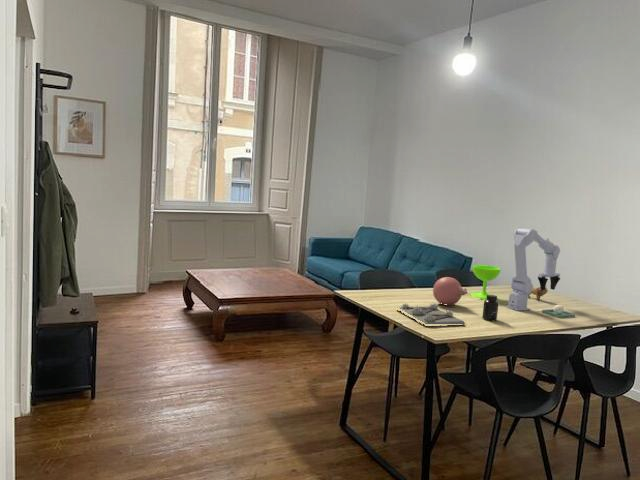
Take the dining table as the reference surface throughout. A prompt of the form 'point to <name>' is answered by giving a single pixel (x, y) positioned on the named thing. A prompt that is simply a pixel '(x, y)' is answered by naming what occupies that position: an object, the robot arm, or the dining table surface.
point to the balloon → (448, 291)
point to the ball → (558, 309)
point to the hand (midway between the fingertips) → (547, 289)
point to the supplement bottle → (490, 308)
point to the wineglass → (484, 277)
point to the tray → (563, 315)
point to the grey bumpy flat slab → (431, 314)
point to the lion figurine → (538, 293)
